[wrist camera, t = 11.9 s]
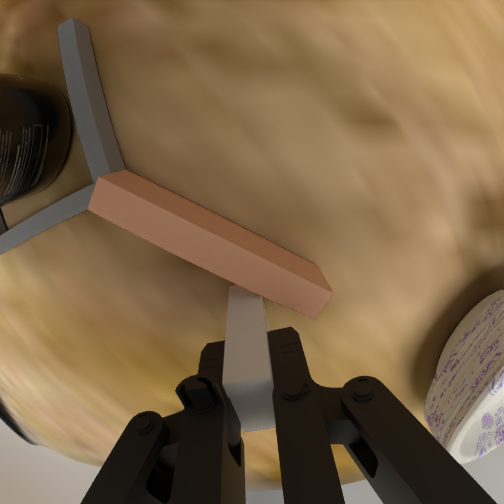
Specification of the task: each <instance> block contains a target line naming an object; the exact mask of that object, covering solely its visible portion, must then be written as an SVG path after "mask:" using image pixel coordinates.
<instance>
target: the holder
mask: <svg viewBox="0 0 504 504" xmlns="http://www.w3.org/2000/svg"><path fill="white" fill-rule="evenodd" d="M57 32H58V39H59V46H60V52H61V59H62V64H63V70H64V75H65V80H66V85H67V90H68V94H69V98H70V103H71V107H72V111H73V115H74V119H75V123H76V127H77V130H78V134H79V138H80V141H81V145H82V148H83V151H84V155H85V158H86V161H87V164H88V167H89V170H90V173H91V177H92V179H93V182H94V183H93V184H91V185H89V186H87V187H85V188H83V189H81V190H79V191H77V192H75V193H73V194H71V195H69V196H67V197H65V198H63V199H62V200H60V201H58V202H56V203H54V204H52V205H50V206H49V207H47V208H45V209H43V210H42V211H40V212H38V213H36V214H35V215H33V216H31V217H30V218H28V219H26V220H25V221H23V222H21V223H20V224H18V225H16V226H15V227H13V228H12V229H10V230H8V231H6V228H5V225H4V223H3V220H2V217H1V214H0V255H1V254H3V253H4V252H6V251H8V250H10V249H11V248H13V247H15V246H17V245H18V244H20V243H22V242H24V241H26V240H27V239H29V238H31V237H33V236H35V235H37V234H39V233H41V232H42V231H44V230H46V229H48V228H50V227H52V226H54V225H56V224H58V223H60V222H62V221H64V220H66V219H68V218H70V217H73V216H75V215H77V214H79V213H81V212H83V211H85V210H89V211H91V212H93V213H95V214H97V215H98V216H100V217H102V218H104V219H106V220H108V221H110V222H112V223H114V224H116V225H118V226H119V227H121V228H123V229H125V230H127V231H129V232H131V233H133V234H135V235H137V236H139V237H141V238H143V239H145V240H147V241H149V242H151V243H153V244H155V245H157V246H159V247H161V248H163V249H165V250H167V251H169V252H171V253H173V254H175V255H177V256H179V257H181V258H183V259H185V260H187V261H189V262H191V263H193V264H195V265H197V266H199V267H201V268H203V269H205V270H208V271H210V272H212V273H214V274H216V275H218V276H220V277H222V278H224V279H226V280H229V281H231V282H233V283H235V284H237V285H239V286H241V287H243V288H246V289H248V290H250V291H252V292H254V293H256V294H259V295H261V296H263V297H265V298H267V299H270V300H272V301H274V302H276V303H278V304H281V305H283V306H285V307H287V308H289V309H292V310H294V311H296V312H298V313H301V314H303V315H305V316H307V317H310V318H312V319H314V320H315V319H316V318H317V316H318V315H319V314H320V312H321V311H322V309H323V308H324V307H325V305H326V304H327V302H328V301H329V300H330V298H331V297H332V295H333V294H334V293H333V291H332V290H331V288H330V286H329V284H328V283H327V281H326V279H325V277H324V276H323V274H322V272H321V270H320V269H319V267H318V266H316V265H314V264H312V263H310V262H309V261H307V260H305V259H303V258H301V257H299V256H297V255H295V254H293V253H291V252H289V251H287V250H285V249H284V248H282V247H280V246H278V245H276V244H274V243H272V242H270V241H268V240H266V239H264V238H262V237H260V236H258V235H256V234H254V233H252V232H250V231H248V230H246V229H244V228H242V227H240V226H239V225H237V224H235V223H233V222H231V221H229V220H227V219H225V218H223V217H221V216H219V215H217V214H215V213H213V212H211V211H209V210H207V209H205V208H203V207H201V206H199V205H197V204H195V203H193V202H191V201H189V200H187V199H185V198H183V197H181V196H179V195H177V194H175V193H172V192H170V191H168V190H166V189H164V188H162V187H160V186H158V185H156V184H154V183H152V182H150V181H148V180H146V179H144V178H142V177H140V176H138V175H136V174H134V173H132V172H129V171H127V170H126V169H125V166H124V163H123V160H122V157H121V153H120V150H119V147H118V144H117V141H116V137H115V134H114V131H113V127H112V124H111V121H110V117H109V114H108V110H107V106H106V103H105V99H104V95H103V91H102V87H101V83H100V79H99V75H98V71H97V67H96V62H95V58H94V53H93V48H92V44H91V39H90V33H89V28H88V26H87V25H85V24H84V23H82V22H80V21H79V20H77V19H76V18H74V17H71V18H70V19H68V20H67V21H65V22H63V23H62V24H60V25H59V26H57Z"/></svg>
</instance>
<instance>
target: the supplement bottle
mask: <svg viewBox="0 0 504 504" xmlns="http://www.w3.org/2000/svg"><path fill="white" fill-rule="evenodd" d="M70 129H71V127H70V115H69V110H68V106H67V104H66V101H65V99H64V97H63V95H62V94H61V92H60V91H59V90H58V89H57V88H56V87H55V86H53V85H52V84H50V83H48V82H45V81H42V80H37V79H33V78H28V77H22V76H17V75H10V74H4V73H0V207H2V206H5V205H7V204H10V203H13V202H15V201H18V200H21V199H24V198H26V197H29V196H31V195H34V194H36V193H38V192H40V191H42V190H43V189H44V188H46V187H47V186H48V185H49V184H50V183H51V182H52V181H53V179H54V178H55V177H56V175H57V174H58V172H59V170H60V168H61V166H62V164H63V162H64V160H65V157H66V154H67V150H68V146H69V141H70Z"/></svg>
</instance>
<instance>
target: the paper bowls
mask: <svg viewBox="0 0 504 504" xmlns="http://www.w3.org/2000/svg"><path fill="white" fill-rule="evenodd" d="M424 418H425V420H426V422H427V423H428V426H429V428H430V429H431V432H432V434H433V435H434V437H435V439H436V440H437V441H438V442H439V443H440V444H441V445H442V446H443V447H444V448H445V449H446V450H447V451H448V452H449V453H450V454H451V455H452V456H453V458H454V459H455V460H456V461H457V462H458V463H459V464H462V463H467V462H470V461H473V460H475V459H477V458H479V457H481V456H483V455H485V454H487V453H489V452H490V451H492V450H493V449H495V448H496V447H498V446H499V445H500V444H502V443H503V442H504V290H500V291H497V292H495V293H493V294H491V295H489V296H487V297H486V298H484V299H483V300H482V301H480V302H479V303H478V304H477V305H476V306H475V307H474V308H473V309H472V310H471V311H470V312H469V313H468V314H467V315H466V316H465V317H464V318H463V319H462V321H461V322H460V323H459V325H458V326H457V327H456V329H455V330H454V332H453V333H452V335H451V336H450V338H449V340H448V342H447V343H446V345H445V347H444V349H443V351H442V354H441V356H440V359H439V362H438V366H437V371H436V376H435V378H434V379H433V382H432V385H431V387H430V390H429V392H428V394H427V397H426V402H425V406H424Z"/></svg>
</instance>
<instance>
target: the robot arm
mask: <svg viewBox="0 0 504 504" xmlns="http://www.w3.org/2000/svg"><path fill="white" fill-rule="evenodd" d="M175 392H176V393H177V395H178V397H179V399H180V400H181V402H182V404H183V406H184V407H185V408H184V410H182V411H180V412H178V413H175V414H172V415H169V416H166V417H163V418H162V417H161V416H160V415H159V414H158V413H156V412H154V411H145V412H142V413H139V414H137V415H136V416H134V417H133V418H132V419H131V420H130V422H129V423H128V425H127V426H126V428H125V430H124V431H123V433H122V435H121V436H120V438H119V440H118V441H117V443H116V445H115V446H114V448H113V450H112V451H111V453H110V455H109V456H108V458H107V460H106V461H105V463H104V465H103V466H102V468H101V470H100V471H99V473H98V475H97V476H96V478H95V480H94V482H93V483H92V485H91V487H90V488H89V490H88V492H87V493H86V495H85V497H84V498H83V500H82V502H81V504H246V502H245V501H246V500H245V462H244V443H243V440H242V437H241V428H242V430H243V432H250V431H257V430H264V429H270V428H276V434H277V443H278V452H279V460H280V469H281V478H282V487H283V496H284V504H345V501H344V497H343V493H342V489H341V484H340V480H339V476H338V472H337V468H336V464H335V461H334V457H333V453H332V449H331V445H330V444H343V445H344V447H345V448H346V450H347V451H348V453H349V454H350V456H351V457H352V459H353V460H354V461H355V463H356V464H357V466H358V467H359V469H360V470H361V472H362V473H363V475H364V476H365V478H366V479H367V480H368V482H369V483H370V485H371V486H372V488H373V489H374V491H375V492H376V493H377V495H378V496H379V498H380V499H381V500H382V502H383V503H384V504H497V503H496V502H495V501H494V500H493V499H492V498H491V497H490V496H489V495H488V494H487V493H486V492H485V490H484V489H483V488H482V487H481V486H480V485H479V484H478V483H477V482H476V481H475V480H474V479H473V478H472V477H471V475H469V474H468V472H467V471H466V470H465V469H464V468H463V467H462V466H461V465H460V464H459V463H458V462H457V461H456V460H455V459H454V458H453V456H452V455H451V454H450V453H449V452H448V451H447V450H446V449H445V448H444V447H443V446H442V445H441V444H440V443H439V442H438V441H437V440H436V439H435V438H434V437H433V435H432V434H431V433H430V432H429V431H428V430H427V429H426V428H425V427H424V426H423V425H422V424H421V423H420V422H419V421H418V420H417V419H416V418H415V417H414V416H413V414H412V413H411V412H410V411H409V410H408V409H407V408H406V407H405V406H404V405H403V404H402V403H401V402H400V401H399V400H398V399H397V398H396V397H395V396H394V395H393V394H392V392H391V391H390V390H389V389H388V388H387V387H386V386H385V385H384V384H383V383H382V382H381V381H379V380H378V379H376V378H374V377H370V376H359V377H356V378H353V379H351V380H349V381H348V382H347V383H345V385H344V386H343V388H329V387H324V386H320V385H319V384H317V383H315V382H314V381H313V380H312V378H311V376H310V373H309V369H308V366H307V362H306V358H305V355H304V351H303V348H302V344H301V341H300V337H299V333H298V332H297V331H296V330H294V329H293V328H292V327H287V328H283V329H278V330H273V331H270V326H269V321H268V317H267V313H266V308H265V304H264V300H263V296H261V295H259V294H256V293H254V292H252V291H250V290H248V289H246V288H243V287H241V286H239V285H233V286H229V297H228V310H227V323H226V337H225V341H219V342H213V343H207V345H206V346H205V347H204V349H203V350H202V352H201V356H200V363H199V370H198V374H197V375H193V376H190V377H188V378H186V379H184V380H183V381H182V382H181V383H180V384H179V385H178V386H177V388H176V390H175Z"/></svg>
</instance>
